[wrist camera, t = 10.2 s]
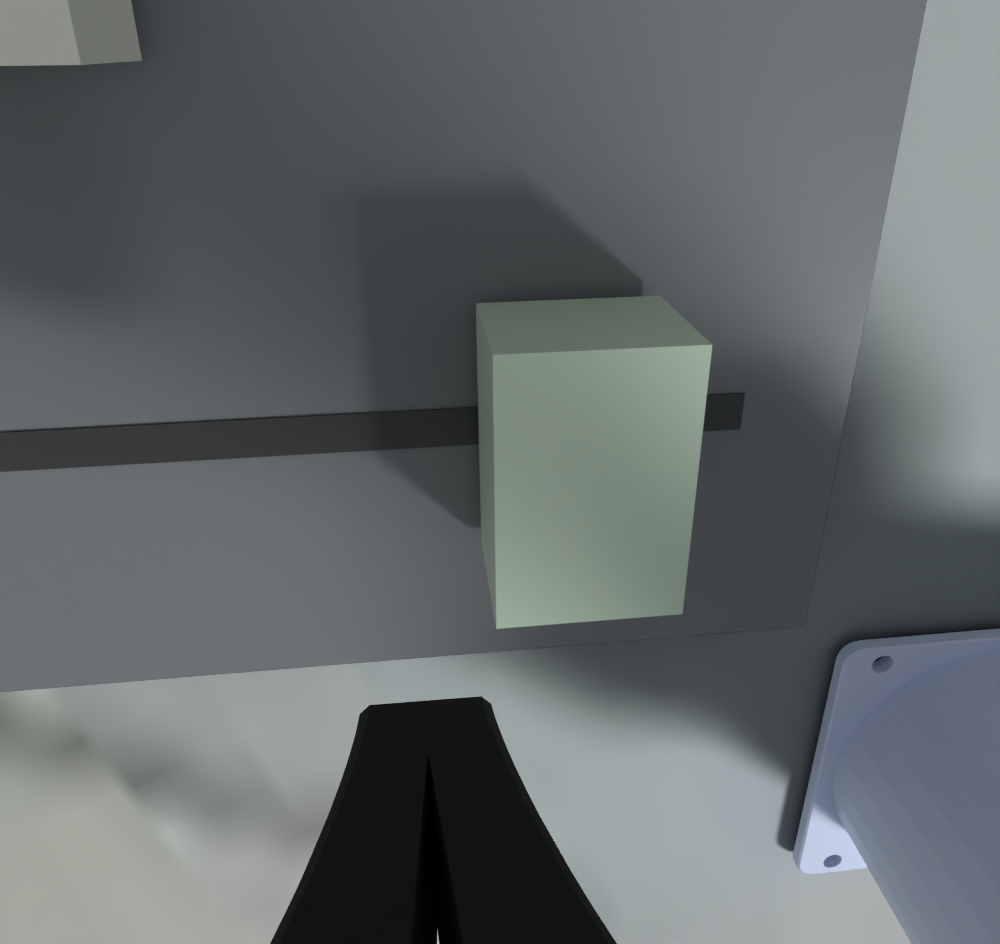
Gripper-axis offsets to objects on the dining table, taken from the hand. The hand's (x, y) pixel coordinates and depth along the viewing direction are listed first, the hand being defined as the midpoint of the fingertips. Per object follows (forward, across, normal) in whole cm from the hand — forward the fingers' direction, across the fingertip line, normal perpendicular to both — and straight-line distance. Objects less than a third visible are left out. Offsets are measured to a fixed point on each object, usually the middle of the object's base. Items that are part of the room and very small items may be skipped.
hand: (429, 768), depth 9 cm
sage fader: (+6, -3, -1) cm, 7 cm away
